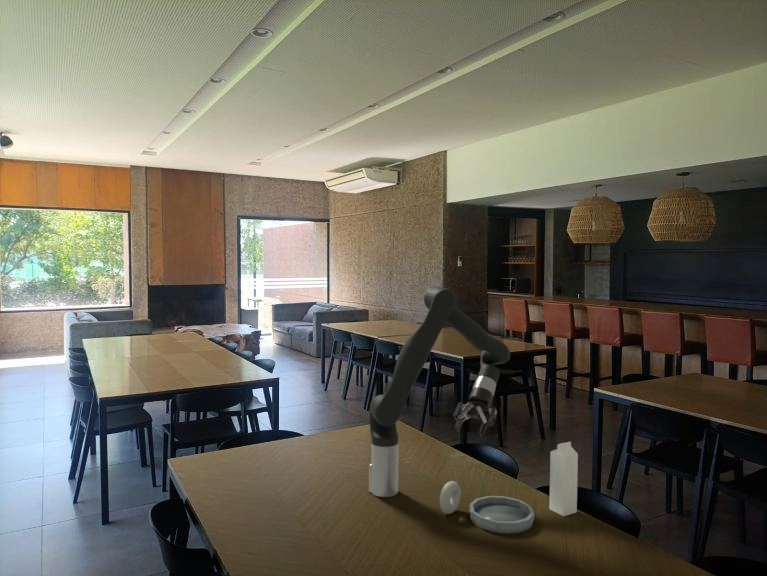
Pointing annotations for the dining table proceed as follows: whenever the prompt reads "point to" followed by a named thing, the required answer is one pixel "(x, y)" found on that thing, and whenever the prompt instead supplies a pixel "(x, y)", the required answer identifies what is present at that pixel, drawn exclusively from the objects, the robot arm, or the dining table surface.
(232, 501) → the dining table surface
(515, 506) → the bowl
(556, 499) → the milk
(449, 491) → the donut
